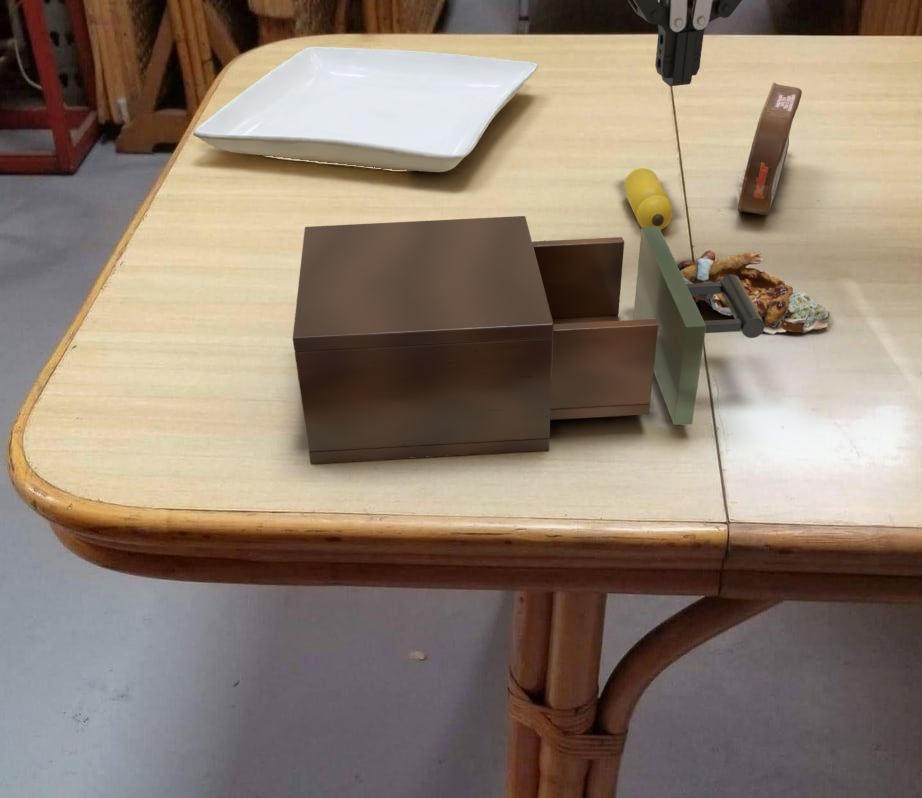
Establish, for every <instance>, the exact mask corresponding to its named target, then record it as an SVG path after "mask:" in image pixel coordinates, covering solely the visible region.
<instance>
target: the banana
mask: <svg viewBox="0 0 922 798" xmlns="http://www.w3.org/2000/svg"><path fill="white" fill-rule="evenodd" d="M623 190H624V194H625V196H626V198H627V201H628V203H629V205H630V207H631V210H632V212H633V214H634V216H635V219H636V221H637V223H638V225H639V226H640V227H641V228H642V227H657V226H658V227H659V228H660V230H661V231H662V230H663V229H665V228H667V226H669V224H670V222H671V220H672V218H673V214H674V213H673V211H674V210H673V205H672V203H671V201H670V199H669V197H668V195H667V193H666V191H665V189H664V187H663V185H662V184H661V182H660V179H659V178H658V176H657V174H656V173H655V172H654V171H653V170H651V169H649V168H647V167H638V168H635V169H633V170H631V171H630V172H629V173H628V175H627V176H626V178H625V180H624V183H623Z"/></svg>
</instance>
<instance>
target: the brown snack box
mask: <svg viewBox="0 0 922 798" xmlns="http://www.w3.org/2000/svg"><path fill="white" fill-rule="evenodd" d="M802 93H803V91H802V89H801V88H799V87H795V86H789V85H784V84H779V83H778V84H777V83H776V82H773V83H772V85H771V87H770V90H769V93H768V95H767V98H766V100H765V103H764V105H763V107H762V109H761V111H760V112H761V113H760V116H759V119H758V121H757V125H756V129H755V132H754V136H753V139H752V144H751V148H750V151H749V155H748V159H747V164H746V168H745V172H744V177H743V180H742V186H741V190H740V195H739V199H738V204H737V205H738V206H737V212H738V213H741V212H744V213H749V214H755V215H761V216H765V215H769V213H770V211H771V209H772V206H773V203H774V200H775V197H776V194H777V191H778V188H779V185H780V180H781V177H782V173H783V169H784V166H785V161H786V158H787V155H788V149H789V145H790V135H791V129H792V125H793V122H794V121H793V120H794V118H795V117H796V116H795V115H796V113H797V110H798V108H799V105H800V102H801V98H802Z"/></svg>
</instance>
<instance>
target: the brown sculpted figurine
mask: <svg viewBox="0 0 922 798" xmlns="http://www.w3.org/2000/svg"><path fill="white" fill-rule="evenodd" d="M761 254H762V252H760V251H759V252H753V253H752V252H743V253H739V254H736V255H729V256H728V257H727V256H726V257H723V258H721V259H717V260H716V258H717V257H716V254H715V253H714V251H712V250H710V249H708V250H706V251H704V252H703V253H702V254H701V256H699V258H697V259H696V260H695V261H690V260H682V261H680V262H678V264H677V266H678V268H679V270H680V272H681V274H682V276H683V279H684V281H685V283H686V284H692V283H712V282H720V281H721V279H722V278H723V277H725V276H727V275H736V276H737V277H738V278H739V279H740V281H741V283H742V285H743V286H744V288H745V290H746V292H747V293H748V295H749V297H750V299H751V301H752V302H753V304H754V306H755V308H756V309H757V311H758V313H759V315H760V317H761V318H762V320H763V322H764V325H765V326H764V330H763V332H764V333H766V334H769V335H772V336H774V335H775V334H776V333H786V332H787V331H788V332H791V333H801V334H802V335H803V334H804V333H805V334H806V333H807V332H810V331H812V330H816V331H817V330H818V331H820V330H821V329H823V328H826V327H827V328H828V324H829V320H830V313H831V312H830V311H829V310H827V309H826V308H825V305H824V304H820V303H818V302H817V301H815V299H814V298H812V297H810V296H809V295H808V294H807V293H806V292H804V291H800V292H798V289H794V288H793V286H791V285H789V284H786V282H785V281H784V280H781V279H780V278H778V277H777V278H776V277H775V276H772V275H770V274H769V273H767V272H765V271H762V270H760V269H758V268H755V267H747V266H751V265H759V264H762V262H763V259H764V257H763V256H760V255H761ZM692 297H693V300H694V302H695V304H696V303H700V302H701V301H704V302H706V303H707V304H708V306H709V307H712V310H715V311H717V312H718V313H720V314H721V315H726V316H728V317H730V316H733V314H732V312H731V310H730V308H729V306H728V304H727V302H726V300H725V298H724V297H723V295H722V293H721V294H705V295H692Z"/></svg>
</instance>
